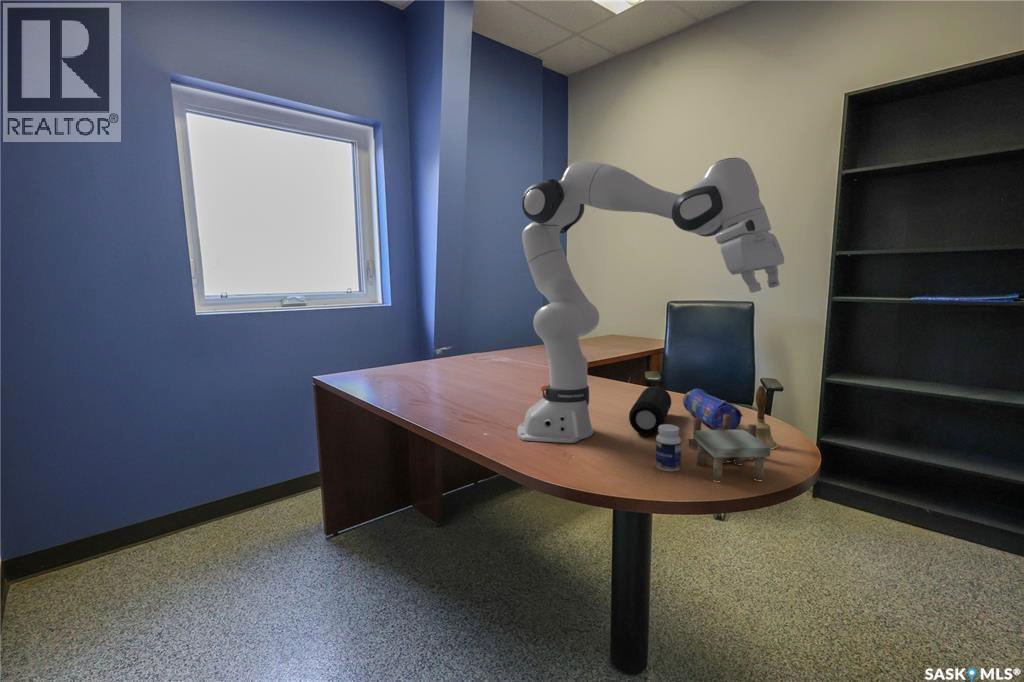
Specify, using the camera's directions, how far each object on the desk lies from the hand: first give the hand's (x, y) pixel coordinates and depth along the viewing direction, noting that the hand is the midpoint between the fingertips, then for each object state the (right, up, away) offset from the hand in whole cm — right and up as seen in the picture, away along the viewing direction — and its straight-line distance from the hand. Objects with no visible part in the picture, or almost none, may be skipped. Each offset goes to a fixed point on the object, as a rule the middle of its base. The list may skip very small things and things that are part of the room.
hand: (765, 289), depth 98 cm
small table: (-5, -42, +6) cm, 42 cm away
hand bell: (+11, -39, +23) cm, 47 cm away
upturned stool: (-1, -40, +18) cm, 44 cm away
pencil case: (+6, -37, +41) cm, 55 cm away
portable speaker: (-12, -38, +41) cm, 57 cm away
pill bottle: (-18, -42, +9) cm, 46 cm away
